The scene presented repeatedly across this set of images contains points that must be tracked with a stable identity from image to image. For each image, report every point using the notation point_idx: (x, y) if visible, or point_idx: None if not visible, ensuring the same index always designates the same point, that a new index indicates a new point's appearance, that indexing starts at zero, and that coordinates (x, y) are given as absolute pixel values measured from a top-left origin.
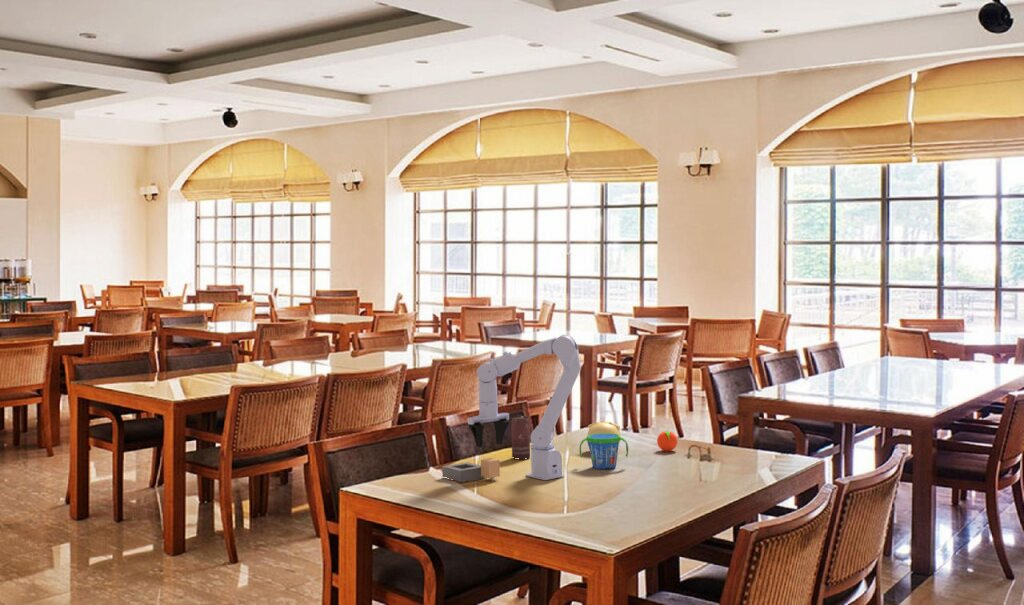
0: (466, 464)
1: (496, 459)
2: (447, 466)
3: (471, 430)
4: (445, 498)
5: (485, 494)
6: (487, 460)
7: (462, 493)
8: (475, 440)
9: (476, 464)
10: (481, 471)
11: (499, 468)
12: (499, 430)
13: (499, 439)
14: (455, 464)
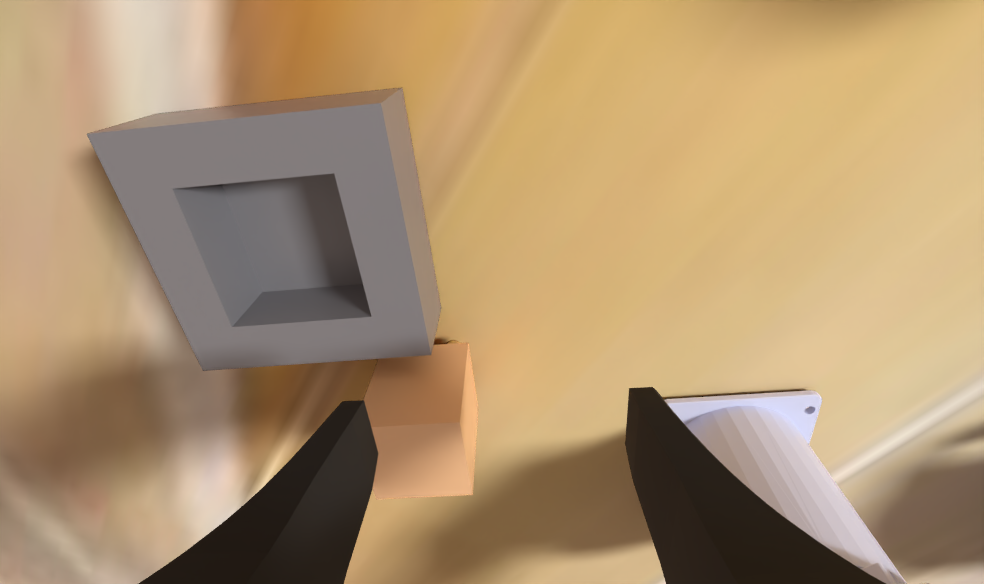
0: (336, 176)
1: (461, 478)
2: (136, 167)
3: (176, 571)
4: (91, 521)
5: None
6: (386, 470)
7: (186, 497)
8: (304, 453)
9: (404, 251)
10: (375, 372)
11: (475, 444)
12: (683, 581)
13: (638, 474)
14: (231, 130)
